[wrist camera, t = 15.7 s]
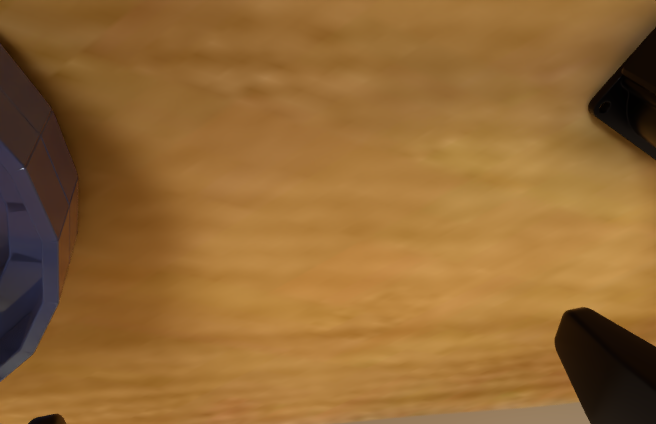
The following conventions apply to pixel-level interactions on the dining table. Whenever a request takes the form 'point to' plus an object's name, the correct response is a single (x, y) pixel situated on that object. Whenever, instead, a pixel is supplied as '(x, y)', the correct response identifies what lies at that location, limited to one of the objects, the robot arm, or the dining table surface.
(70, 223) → the bowl
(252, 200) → the dining table surface
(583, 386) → the robot arm
